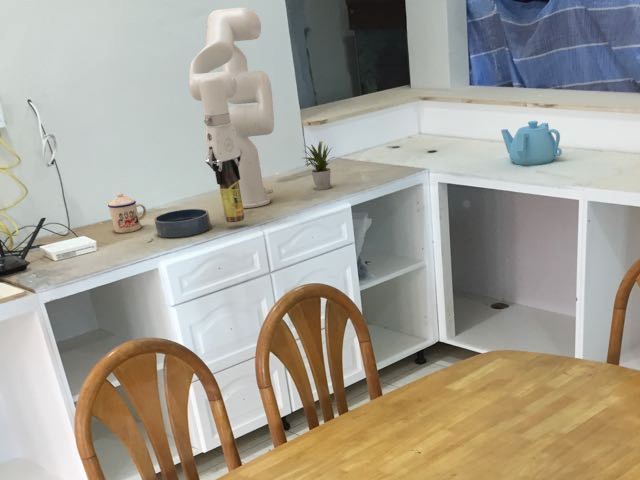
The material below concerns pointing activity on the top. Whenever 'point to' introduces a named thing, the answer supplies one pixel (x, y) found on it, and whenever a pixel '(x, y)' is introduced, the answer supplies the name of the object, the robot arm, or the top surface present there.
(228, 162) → the sauce bottle
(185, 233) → the bowl
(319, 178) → the house plant
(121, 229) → the teacup with lid
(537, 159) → the teapot
